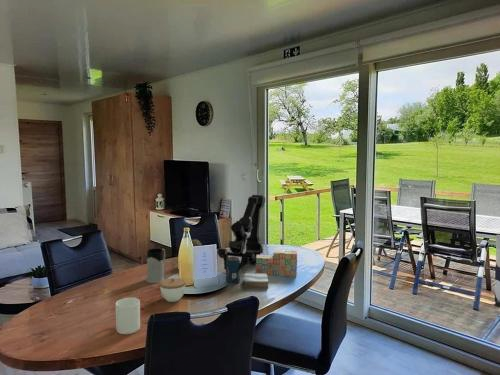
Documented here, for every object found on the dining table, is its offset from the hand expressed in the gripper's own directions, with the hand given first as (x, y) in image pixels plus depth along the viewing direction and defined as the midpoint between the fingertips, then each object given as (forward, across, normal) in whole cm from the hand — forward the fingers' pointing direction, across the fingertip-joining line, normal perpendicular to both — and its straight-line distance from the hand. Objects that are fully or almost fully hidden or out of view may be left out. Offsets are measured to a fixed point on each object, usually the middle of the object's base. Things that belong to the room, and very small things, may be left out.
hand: (231, 270), depth 181 cm
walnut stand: (+3, +12, +7) cm, 14 cm away
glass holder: (+9, -38, 0) cm, 39 cm away
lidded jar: (+24, -17, -14) cm, 32 cm away
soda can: (+4, 0, +6) cm, 7 cm away
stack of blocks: (-10, +17, +20) cm, 28 cm away
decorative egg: (-8, -30, +18) cm, 35 cm away
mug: (+44, -20, -34) cm, 59 cm away
